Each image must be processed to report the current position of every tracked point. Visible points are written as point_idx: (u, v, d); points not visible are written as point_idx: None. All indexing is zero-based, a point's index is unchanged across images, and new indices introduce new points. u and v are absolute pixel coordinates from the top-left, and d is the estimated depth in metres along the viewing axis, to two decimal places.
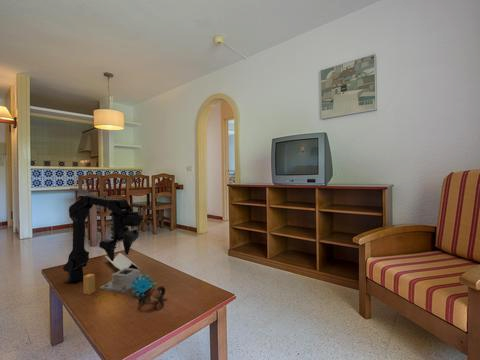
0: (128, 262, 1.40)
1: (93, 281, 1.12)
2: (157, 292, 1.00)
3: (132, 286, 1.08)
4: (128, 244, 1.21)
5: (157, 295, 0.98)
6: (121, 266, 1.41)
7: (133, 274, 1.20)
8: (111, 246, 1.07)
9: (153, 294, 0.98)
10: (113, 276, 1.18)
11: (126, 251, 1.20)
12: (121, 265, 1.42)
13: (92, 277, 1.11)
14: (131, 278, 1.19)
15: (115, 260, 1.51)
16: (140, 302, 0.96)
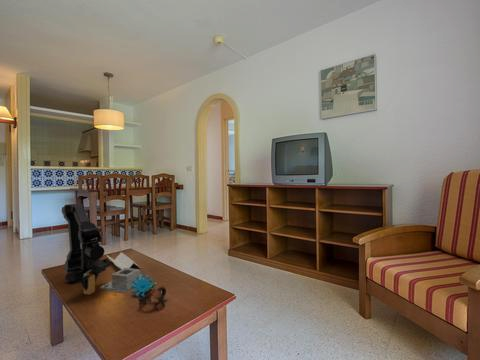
0: (130, 262, 1.41)
1: (93, 281, 1.12)
2: (158, 293, 0.99)
3: (132, 286, 1.08)
4: None
5: (158, 296, 0.98)
6: (123, 266, 1.42)
7: (133, 274, 1.20)
8: (77, 279, 1.03)
9: (154, 295, 0.97)
10: (113, 276, 1.18)
11: None
12: (123, 265, 1.43)
13: (92, 277, 1.11)
14: (131, 278, 1.19)
15: (117, 260, 1.52)
16: (141, 303, 0.96)
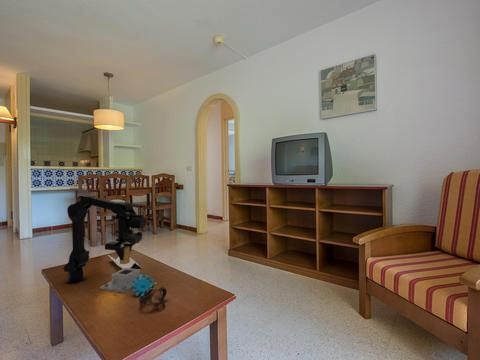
0: (131, 261, 1.41)
1: (128, 252, 1.21)
2: (158, 293, 0.99)
3: (132, 285, 1.08)
4: None
5: (159, 296, 0.97)
6: (124, 265, 1.42)
7: (133, 274, 1.20)
8: (116, 248, 1.12)
9: (155, 295, 0.97)
10: (113, 276, 1.18)
11: None
12: (124, 264, 1.43)
13: (127, 249, 1.20)
14: (131, 278, 1.19)
15: (118, 259, 1.52)
16: (141, 303, 0.95)
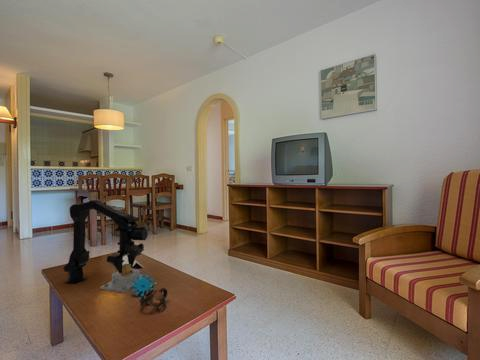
0: None
1: (129, 270, 1.22)
2: (159, 294, 0.98)
3: (132, 285, 1.09)
4: (133, 258, 1.25)
5: (159, 297, 0.97)
6: None
7: (133, 274, 1.20)
8: (118, 261, 1.13)
9: (155, 296, 0.96)
10: (113, 276, 1.18)
11: None
12: None
13: (129, 267, 1.21)
14: (131, 278, 1.19)
15: None
16: (142, 304, 0.94)
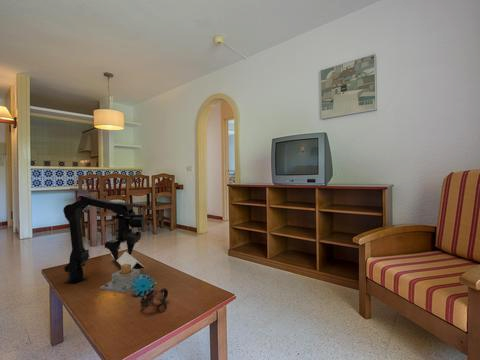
0: (133, 261, 1.42)
1: (129, 270, 1.22)
2: (160, 294, 0.98)
3: (132, 285, 1.09)
4: (131, 245, 1.30)
5: (160, 297, 0.97)
6: None
7: (133, 274, 1.20)
8: (115, 246, 1.16)
9: (156, 296, 0.96)
10: (113, 276, 1.18)
11: (129, 251, 1.29)
12: None
13: (129, 267, 1.21)
14: (131, 278, 1.19)
15: (121, 259, 1.53)
16: (143, 305, 0.94)
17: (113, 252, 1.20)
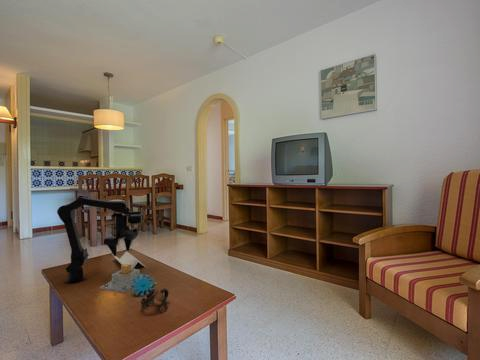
0: (134, 261, 1.42)
1: (129, 270, 1.22)
2: (161, 295, 0.97)
3: (132, 285, 1.09)
4: (129, 241, 1.35)
5: (161, 298, 0.96)
6: None
7: (133, 274, 1.20)
8: (114, 243, 1.22)
9: (157, 297, 0.95)
10: (113, 276, 1.18)
11: (127, 247, 1.35)
12: (128, 263, 1.45)
13: (129, 267, 1.21)
14: (131, 278, 1.19)
15: (122, 259, 1.54)
16: (143, 305, 0.94)
17: (112, 248, 1.25)
